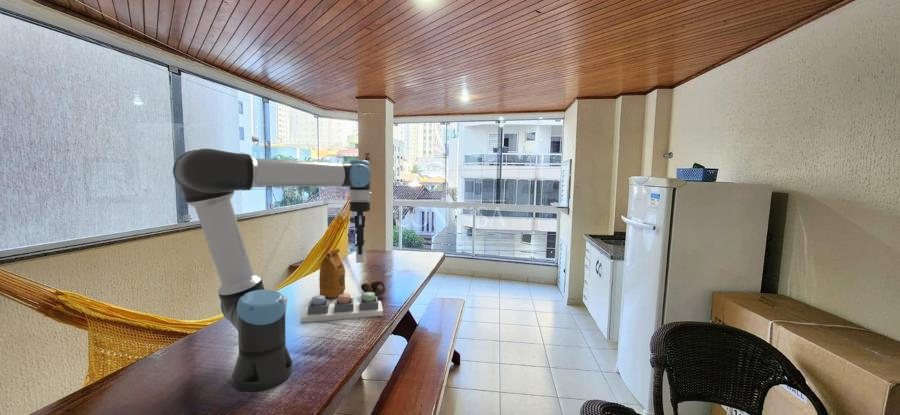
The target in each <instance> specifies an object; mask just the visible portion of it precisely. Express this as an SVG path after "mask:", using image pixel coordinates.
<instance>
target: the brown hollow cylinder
mask: <svg viewBox="0 0 900 415" xmlns="http://www.w3.org/2000/svg"><path fill="white" fill-rule="evenodd" d="M379 285H381V286H382V289H380V288H378V287H379ZM360 287H361V290H362V292H363V293H366V292H373V293H375V296H377V298H378V297H380V296H381V297H382V296H383V294H385V292H386V291H387V290H386V287H385V284H384V282H382V281H380V280H373V281H371V282H370V283H365V282H363V283H362V284H361V285H360Z"/></svg>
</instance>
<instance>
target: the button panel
mask: <svg viewBox="0 0 900 415" xmlns="http://www.w3.org/2000/svg"><path fill="white" fill-rule="evenodd" d="M382 316H384V309H383V304H382V300H379V298H378V297H377V296H375V301H374V302H365V303H364V302H363V296H360V297H359V302H354V297H351V300H350V303H349V304H338V298H335V299H334V303H330V300H329V299H325V305H324V306H312V300H310V301H309V303H308V305H306V306H305V309H304V312H303V315H302V317H301V318H302V319H301V320H302V321H301V322H302V323H312V322H313V323H314V322H323V321H324V322H325V321H333V320H334V321H335V320H345V319H357V318H369V317H371V318H372V317H382Z"/></svg>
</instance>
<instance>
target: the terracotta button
mask: <svg viewBox="0 0 900 415" xmlns="http://www.w3.org/2000/svg"><path fill="white" fill-rule="evenodd" d="M351 298H352V297H351V294H350V293H341V294H340V295H338V296H337V299H338V304H349V303H350V300H351Z"/></svg>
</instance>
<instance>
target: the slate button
mask: <svg viewBox="0 0 900 415" xmlns="http://www.w3.org/2000/svg"><path fill="white" fill-rule="evenodd" d="M325 300H326V298H325V296H323V295H320V294H319V295H315V296H312V297H311V301H312V306H324V305H325Z"/></svg>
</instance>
